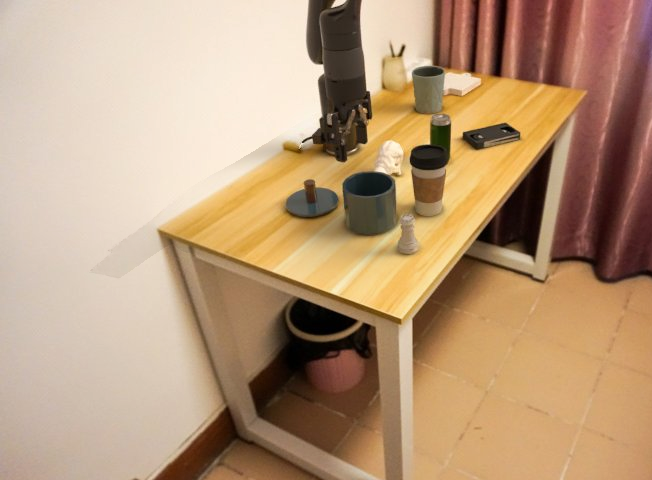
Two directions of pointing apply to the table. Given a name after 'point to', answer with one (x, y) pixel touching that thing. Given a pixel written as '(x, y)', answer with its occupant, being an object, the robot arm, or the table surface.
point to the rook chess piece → (407, 235)
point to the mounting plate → (459, 83)
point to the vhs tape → (491, 136)
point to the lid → (311, 200)
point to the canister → (370, 202)
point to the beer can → (441, 131)
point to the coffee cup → (428, 177)
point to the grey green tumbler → (428, 88)
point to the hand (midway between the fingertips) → (352, 151)
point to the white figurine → (389, 158)
